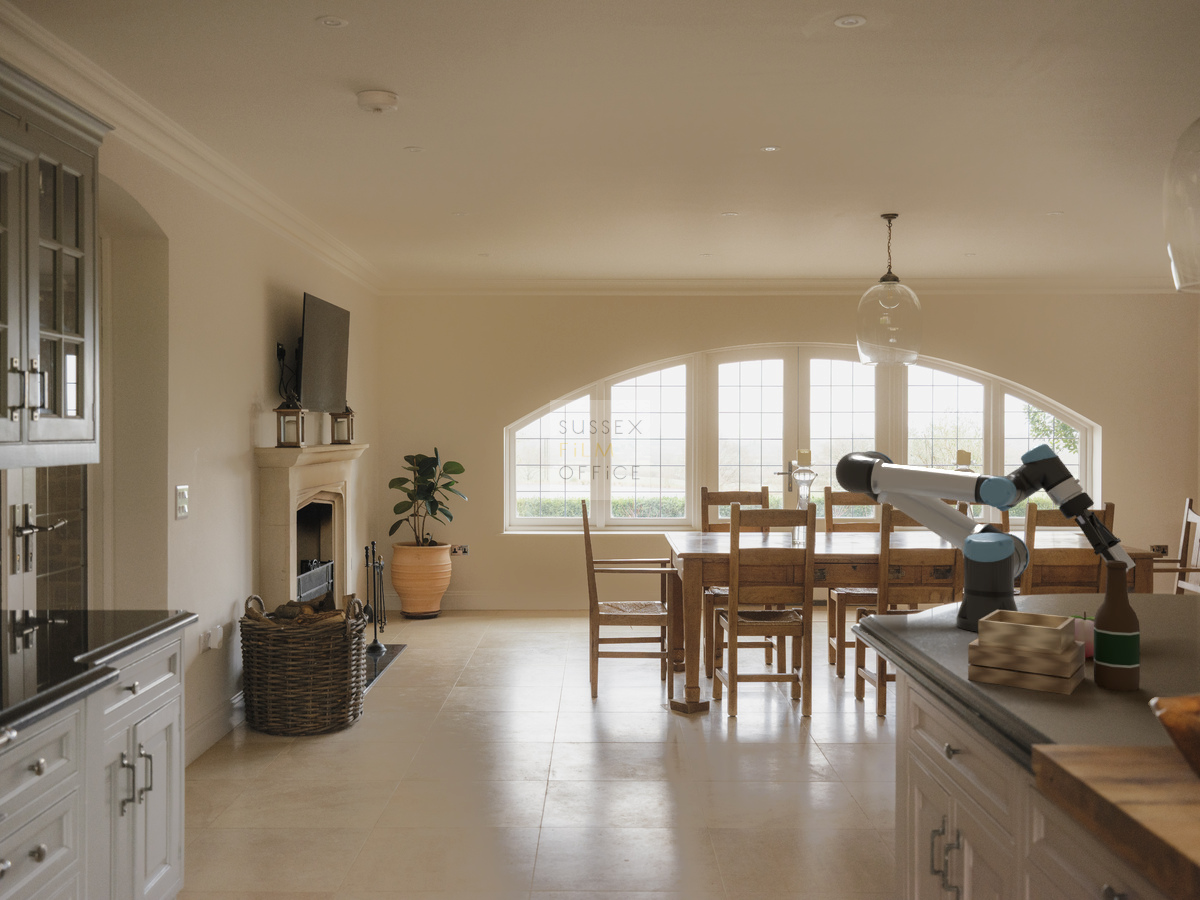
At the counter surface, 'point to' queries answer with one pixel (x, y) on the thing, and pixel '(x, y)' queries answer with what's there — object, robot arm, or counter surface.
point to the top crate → (1027, 631)
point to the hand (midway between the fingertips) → (1127, 571)
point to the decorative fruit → (1085, 632)
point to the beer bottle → (1116, 635)
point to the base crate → (1028, 667)
